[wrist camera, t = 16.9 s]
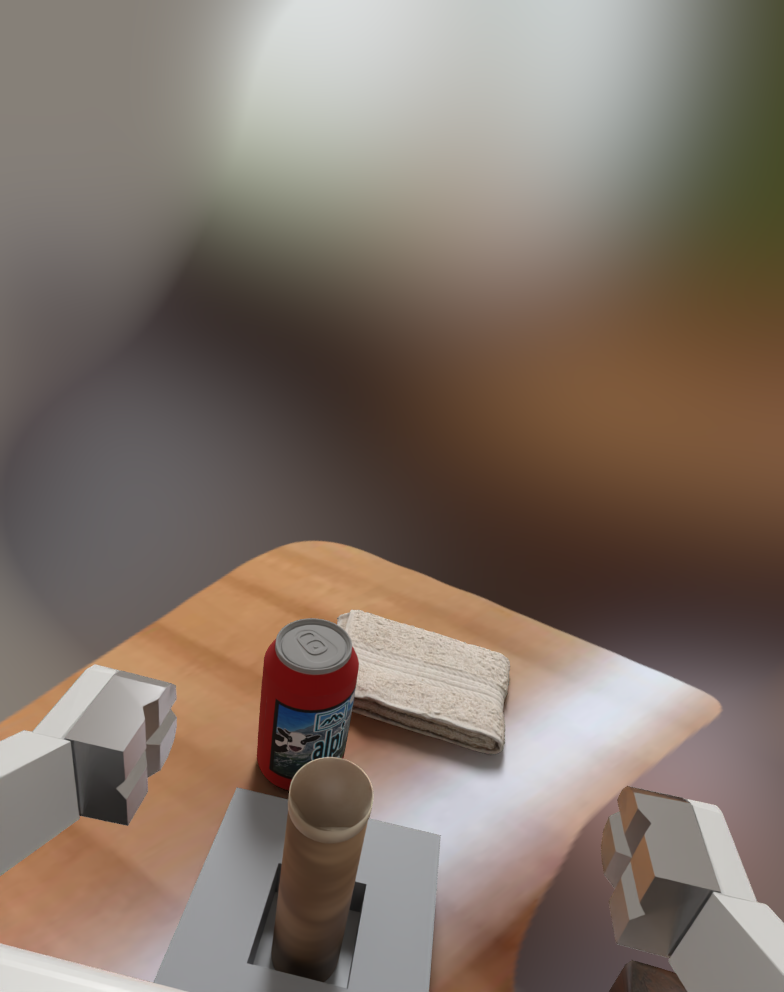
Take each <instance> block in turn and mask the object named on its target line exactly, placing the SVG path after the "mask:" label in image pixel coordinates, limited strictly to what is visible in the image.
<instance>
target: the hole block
mask: <svg viewBox="0 0 784 992" xmlns="http://www.w3.org/2000/svg"><path fill="white" fill-rule="evenodd" d="M287 815H288V799H284V798H280V797H275V796H271V795H267V794H263V793H258V792H254V791H250V790H246V789H241V788H236V791H235V793H234V795H233V798H232V800H231V802H230V805H229V807H228V809H227V812H226V814H225V816H224V819H223V821H222V823H221V826H220V828H219V830H218V833H217V835H216V837H215V840H214V842H213V844H212V847H211V849H210V852H209V854H208V856H207V859H206V861H205V863H204V866H203V868H202V870H201V873H200V875H199V877H198V880H197V882H196V884H195V887H194V889H193V891H192V894H191V896H190V898H189V901H188V903H187V905H186V908H185V910H184V912H183V915H182V917H181V919H180V922H179V924H178V926H177V929H176V931H175V933H174V936H173V938H172V940H171V943H170V945H169V947H168V950H167V952H166V954H165V957H164V959H163V961H162V964H161V966H160V968H159V971H158V973H157V975H156V978H155V980H154V982H153V983H157V984H161V985H165V986H168V987H172V988H176V989H180V990H184V991H188V992H429V983H430V970H431V956H432V943H433V930H434V916H435V903H436V890H437V876H438V863H439V850H440V836H441V835H437V834H433V833H429V832H425V831H420V830H416V829H412V828H408V827H403V826H399V825H395V824H390V823H386V822H382V821H378V820H373V819H369V820H368V823H367V828H366V832H365V837H364V842H363V847H362V851H361V856H360V861H359V865H358V870H357V875H356V880H355V884H354V889H353V894H352V899H351V903H350V908H349V913H348V918H347V922H346V927H345V932H344V937H343V941H342V946H341V951H340V955H339V960H338V963H337V966H336V968H335V970H334V972H333V973H332V975H331V976H330V977H329V978H328V979H327V980H326V981H325V982H320V981H316V980H312V979H308V978H304V977H300V976H296V975H292V974H288V973H284V972H280V971H276V970H275V969H274V966H273V962H272V952H271V951H272V942H273V934H274V925H275V917H276V908H277V900H278V891H279V883H280V875H281V866H282V858H283V849H284V841H285V832H286V824H287Z"/></svg>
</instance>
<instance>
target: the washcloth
mask: <svg viewBox="0 0 784 992" xmlns="http://www.w3.org/2000/svg"><path fill="white" fill-rule="evenodd" d="M337 619H338V622H337V625H338V626H340V627H341V628H343V629H344V630H345V631H346V632H347V634H348V635H349V637H350V638H351V641H352V646H353V648H354V650H355V652H356V654H357V657H358V661H359V670H358V676H357V683H356V689H355V696H354V702H353V707H354V708H353V707H352V712H355V713H358V714H361V715H364V716H367V717H370V718H373V719H377V720H380V721H383V722H386V723H389V724H392V725H395V726H399V727H402V728H405V729H408V730H411V731H414V732H417V733H421V734H424V735H427V736H431V737H434V738H438V739H442V740H444V741H447V742H450V743H454V744H456V745H459V746H462V747H465V748H468V749H471V750H474V751H477V752H481V753H485V754H497V753H499V752H501V751H502V750H503V745H504V743H505V739H504V737H505V722H504V714H503V706H504V699H505V698H506V695H507V690H508V685H509V671H510V662H509V660H508V659H507V658H506V657H505V656H504V655H502V654H501V653H498V652H493V651H490V650H488V649H485V648H481V647H480V646H479V647H478V646H476V645H470V644H466V643H465V642H460V641H459V640H456V639H452V638H449V637H447V636H442V635H440V634H437V633H435V632H429V631H426V630H424V629H422V628H415V627H414V626H409V625H406V624H401V623H398V622H396V621H393V620H389V619H384V618H383V617H379V616H376V615H374V614H371V613H368V612H367V613H365V612H363V611H360V610H351V611H350V613H346V614H342V615H340V616H339V617H338V618H337Z"/></svg>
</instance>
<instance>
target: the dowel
mask: <svg viewBox="0 0 784 992" xmlns="http://www.w3.org/2000/svg"><path fill="white" fill-rule="evenodd" d="M372 804H373V787H372V784H371V782H370V780H369V778H368V776H367V775H366V773H365V772H364V771H363V770H362V769H361V768H360V767H358V766H357V765H356V764H354V763H352V762H350V761H348V760H345V759H342V758H337V757H324V758H319V759H315V760H313V761H310V762H309V763H307V764H305V765H304V766H303V767H301V768H300V769H299V770H298V772H297V773H296V774H295V776H294V777H293V779H292V782H291V785H290V789H289V798H288V815H287V824H286V832H285V841H284V849H283V858H282V866H281V875H280V883H279V891H278V900H277V908H276V917H275V925H274V934H273V942H272V951H271V952H272V962H273V966H274V969H275V970H276V971H280V972H284V973H288V974H292V975H296V976H300V977H304V978H308V979H312V980H316V981H320V982H325V981H326V980H327V979H328V978H329V977H330V976H331V975H332V973H333V972H334V970H335V968H336V966H337V963H338V960H339V955H340V951H341V946H342V941H343V937H344V932H345V927H346V922H347V918H348V913H349V908H350V903H351V899H352V894H353V889H354V884H355V880H356V875H357V870H358V865H359V861H360V856H361V851H362V847H363V842H364V837H365V832H366V828H367V823H368V820H369V817H370V813H371V809H372Z"/></svg>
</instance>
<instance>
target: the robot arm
mask: <svg viewBox="0 0 784 992" xmlns="http://www.w3.org/2000/svg"><path fill="white" fill-rule="evenodd" d="M175 701H176V685H174V684H172V683H168V682H164V681H160V680H156V679H152V678H148V677H144V676H140V675H137V674H133V673H129V672H125V671H119V670H115V669H111V668H107V667H103V666H99V665H93V666H91V667H90V668H88V669H86V670H85V671H84V672H83V674H82V675H81V676H80V677H79V678H78V679H77V680H76V682H75V683H74V684H73V685H72V686H71V687H70V689H69V690H68V691H67V692H66V693H65V694H64V696H63V697H62V698H61V699H60V700H59V701H58V702H57V704H56V705H55V706H54V707H53V708H52V709H51V711H50V712H49V713H48V714H47V715H46V716H45V717H44V719H43V720H42V721H41V722H40V723H39V724H38V726H37V727H36V728H35V729H34V730H33V731H32V732H30V731H25V730H23V731H21V732H19V733H17V734H15V735H13V736H11V737H9V738H6V739H4V740H2V741H0V876H1V875H2V874H4V873H5V872H6V871H8V870H9V869H11V868H12V867H13V866H15V865H16V864H18V863H19V862H20V861H22V860H23V859H24V858H26V857H27V856H29V855H30V854H31V853H33V852H34V851H36V850H37V849H38V848H40V847H41V846H43V845H44V844H45V843H47V842H48V841H49V840H51V839H52V838H54V837H55V836H56V835H58V834H59V833H61V832H62V831H63V830H65V829H66V828H67V827H69V826H70V825H72V824H73V823H74V822H76V821H77V820H79V818H80V817H79V816H84V817H89V818H93V819H98V820H103V821H108V822H112V823H117V824H122V825H127V826H128V825H129V823H130V821H131V820H132V818H133V816H134V815H135V813H136V811H137V809H138V808H139V806H140V804H141V803H142V801H143V799H144V797H145V796H146V794H147V792H148V781H147V778H148V777H150V776H151V775H153V774H155V773H156V772H158V771H160V770H161V768H162V766H163V764H164V763H165V761H166V759H167V757H168V755H169V752H170V749H171V747H172V744H173V741H174V738H175V732H176V721H177V717H176V716H175V714H174V713H173V712H172V710H171V707H172V705H173V704H174V702H175ZM617 801H618V806H619V810H620V811H619V812H617V813H615V814H613V815H611V816H609V818H608V821H607V823H606V825H605V828H604V830H603V837H602V844H601V854H602V855H601V856H602V865H603V871H604V875H605V877H606V878H607V879H608V880H609V882H610V883H611V884H612V886H613V887H614V888H615V890H614V892H613V894H612V896H611V898H610V900H609V906H610V912H611V918H612V923H613V929H614V934H615V940H616V944H619V945H623V946H626V947H630V948H634V949H638V950H641V951H645V952H648V953H652V954H656V955H659V956H663V957H667V958H670V959H669V960H668V961H669V963H670V964H671V966H672V968H673V969H674V971H675V973H676V974H677V976H678V977H679V979H680V981H681V982H682V984H683V985H684V987H685V989H686V990H687V992H784V923H783V922H782V921H781V920H780V919H779V917H777V915H776V914H775V913H774V912H773V911H772V910H771V909H770V908H769V907H768V906H767V905H766V904H762V903H759V902H757V900H756V898H755V895H754V893H753V890H752V887H751V885H750V882H749V880H748V877H747V875H746V872H745V870H744V867H743V865H742V862H741V860H740V857H739V854H738V852H737V849H736V847H735V844H734V842H733V839H732V837H731V834H730V831H729V829H728V826H727V824H726V821H725V819H724V816H723V814H722V812H721V810H720V809H719V808H718V807H717V806H716V805H712V804H707V803H702V802H698V801H694V800H689V799H684V798H681V797H677V796H672V795H667V794H662V793H658V792H653V791H649V790H644V789H639V788H635V787H630V786H627V787H625V788H624V789H623V790H622V791H621V793H620V795H619V797H618V799H617ZM0 992H188V991H184V990H180V989H176V988H172V987H168V986H165V985H161V984H157V983H153V982H149V981H145V980H141V979H137V978H133V977H129V976H126V975H122V974H118V973H114V972H110V971H106V970H102V969H98V968H94V967H90V966H87V965H83V964H79V963H75V962H71V961H67V960H63V959H59V958H55V957H51V956H48V955H44V954H40V953H36V952H32V951H28V950H24V949H20V948H16V947H12V946H8V945H5V944H1V943H0Z"/></svg>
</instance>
